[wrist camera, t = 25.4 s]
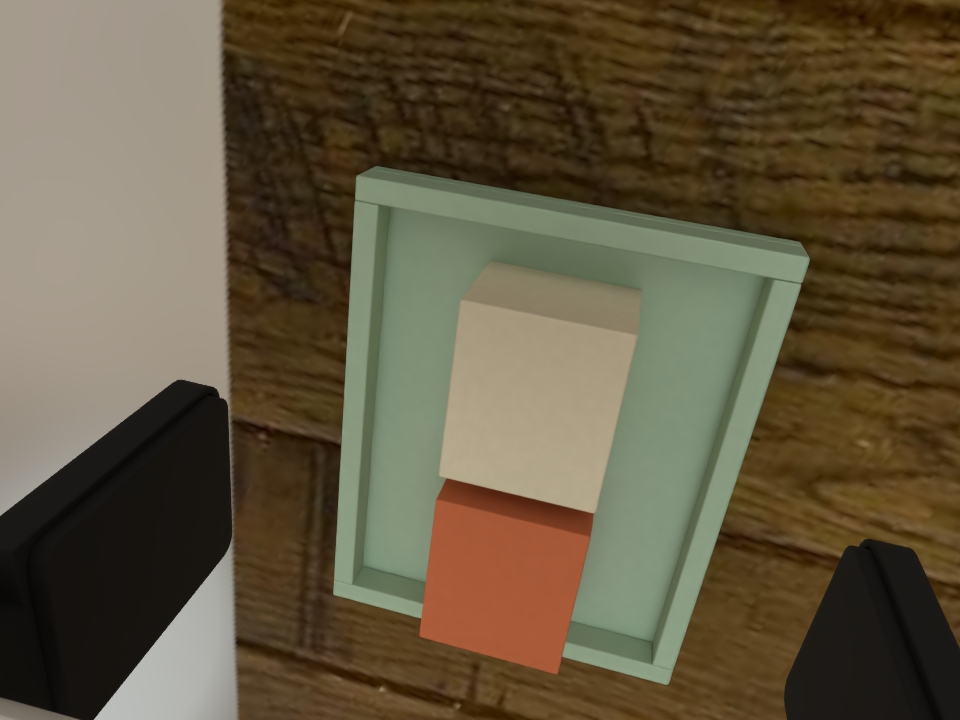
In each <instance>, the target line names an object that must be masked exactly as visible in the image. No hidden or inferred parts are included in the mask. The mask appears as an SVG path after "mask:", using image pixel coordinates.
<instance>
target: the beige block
mask: <svg viewBox="0 0 960 720" xmlns="http://www.w3.org/2000/svg"><path fill="white" fill-rule="evenodd" d="M641 297H642V291H641V290H640V289H635V288H630V287H624V286H619V285H614V284H609V283H604V282H599V281H593V280H588V279H583V278H578V277H573V276H568V275H563V274H557V273H552V272H547V271H542V270H537V269H532V268H527V267H521V266H516V265H511V264H506V263H501V262H496V261H489V263H488V264H487V265H486V267H485V268H484V269H483V271H482V272H481V274H480V275H479V276H478V278H477V279H476V280H475V282H474V283H473V284H472V286H471V287H470V288H469V290H468V291H467V292H466V294H465V295H464V296H463V298H462V299H461V301H460V306H459V314H458V322H457V330H456V338H455V346H454V354H453V362H452V370H451V378H450V386H449V394H448V403H447V411H446V419H445V427H444V435H443V443H442V451H441V459H440V467H439V476H440V477H444V478H448V479H453V480H457V481H461V482H465V483H469V484H473V485H478V486H482V487H486V488H490V489H494V490H498V491H502V492H507V493H511V494H515V495H519V496H523V497H527V498H532V499H536V500H540V501H544V502H548V503H552V504H556V505H561V506H565V507H569V508H573V509H577V510H581V511H586V512H590V513H595V512H596V510H597V506H598V502H599V498H600V493H601V489H602V485H603V481H604V477H605V473H606V469H607V464H608V460H609V456H610V452H611V448H612V444H613V439H614V435H615V431H616V427H617V423H618V419H619V414H620V410H621V406H622V402H623V398H624V394H625V389H626V385H627V381H628V377H629V373H630V369H631V365H632V360H633V356H634V352H635V348H636V344H637V340H638V331H639V320H640V309H641Z"/></svg>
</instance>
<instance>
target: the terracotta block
mask: <svg viewBox="0 0 960 720" xmlns="http://www.w3.org/2000/svg"><path fill="white" fill-rule="evenodd" d="M593 518H594V513H590V512H586V511H581V510H577V509H573V508H569V507H565V506H561V505H556V504H552V503H548V502H544V501H540V500H536V499H532V498H527V497H523V496H519V495H515V494H511V493H507V492H502V491H498V490H494V489H490V488H486V487H482V486H478V485H473V484H469V483H465V482H461V481H457V480H453V479H448V478H446V480H445V482H444V484H443V486H442V488H441V491H440V493H439V495H438V497H437V499H436V504H435V512H434V520H433V528H432V536H431V544H430V552H429V560H428V568H427V576H426V584H425V592H424V601H423V609H422V617H421V625H420V633H419V636H420V637H422V638H426V639H430V640H433V641H437V642H441V643H444V644H448V645H452V646H455V647H459V648H462V649H466V650H470V651H473V652H477V653H481V654H484V655H488V656H492V657H495V658H499V659H503V660H506V661H510V662H513V663H517V664H521V665H524V666H528V667H532V668H535V669H539V670H543V671H546V672H550V673H553V674H558V671H559V667H560V663H561V659H562V655H563V650H564V646H565V642H566V638H567V634H568V630H569V625H570V621H571V617H572V613H573V609H574V605H575V601H576V596H577V592H578V588H579V584H580V580H581V576H582V572H583V567H584V563H585V559H586V555H587V551H588V547H589V542H590V538H591V532H592V525H593Z"/></svg>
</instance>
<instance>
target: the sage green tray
mask: <svg viewBox="0 0 960 720" xmlns="http://www.w3.org/2000/svg"><path fill="white" fill-rule="evenodd" d="M355 199H356V201H355V207H354V226H353V244H352V262H351V281H350V299H349V317H348V336H347V354H346V372H345V391H344V409H343V427H342V446H341V464H340V483H339V501H338V519H337V538H336V556H335V574H334V579H335V580H334V593H333V594H334V595H336V596H340V597H344V598H348V599H351V600H355V601H359V602H362V603H366V604H370V605H373V606H377V607H381V608H384V609H388V610H392V611H396V612H399V613H403V614H407V615H410V616H414V617H418V618H421V617H422V609H423V601H424V592H425V584H426V576H427V568H428V560H429V552H430V544H431V536H432V528H433V520H434V512H435V504H436V499H437V497H438V495H439V493H440V491H441V488H442V486H443V484H444V482H445V480H446V478H444V477H440V476H439V467H440V459H441V451H442V443H443V435H444V427H445V419H446V411H447V403H448V394H449V386H450V378H451V370H452V362H453V354H454V346H455V338H456V330H457V322H458V314H459V306H460V301H461V299H462V298H463V296H464V295H465V294H466V292H467V291H468V290H469V288H470V287H471V286H472V284H473V283H474V282H475V280H476V279H477V278H478V276H479V275H480V274H481V272H482V271H483V269H484V268H485V267H486V265H487V264H488V263H489V261H496V262H501V263H506V264H511V265H516V266H521V267H527V268H532V269H537V270H542V271H547V272H552V273H557V274H563V275H568V276H573V277H578V278H583V279H588V280H593V281H599V282H604V283H609V284H614V285H619V286H624V287H630V288H635V289H640V290H641V291H642V297H641V309H640V320H639V331H638V340H637V344H636V348H635V352H634V356H633V360H632V365H631V369H630V373H629V377H628V381H627V385H626V389H625V394H624V398H623V402H622V406H621V410H620V414H619V419H618V423H617V427H616V431H615V435H614V439H613V444H612V448H611V452H610V456H609V460H608V464H607V469H606V473H605V477H604V481H603V485H602V489H601V493H600V498H599V502H598V506H597V510H596V512H595V513H594V518H593V525H592V532H591V538H590V542H589V547H588V551H587V555H586V559H585V563H584V567H583V572H582V576H581V580H580V584H579V588H578V592H577V596H576V601H575V605H574V609H573V613H572V617H571V621H570V625H569V630H568V634H567V638H566V642H565V646H564V650H563V655H562V657H565V658H569V659H573V660H577V661H580V662H584V663H588V664H591V665H595V666H599V667H602V668H606V669H610V670H613V671H617V672H621V673H625V674H628V675H632V676H636V677H639V678H643V679H647V680H650V681H654V682H658V683H661V684H665V685H668V684H669V681H670V678H671V675H672V672H673V668H674V666H675V663H676V660H677V657H678V654H679V651H680V648H681V645H682V642H683V639H684V636H685V633H686V630H687V627H688V624H689V621H690V618H691V615H692V612H693V609H694V606H695V603H696V600H697V597H698V594H699V591H700V588H701V585H702V582H703V579H704V576H705V573H706V570H707V567H708V564H709V561H710V558H711V555H712V552H713V549H714V546H715V543H716V540H717V537H718V534H719V531H720V528H721V525H722V522H723V519H724V516H725V513H726V510H727V507H728V504H729V501H730V498H731V495H732V492H733V489H734V486H735V483H736V480H737V477H738V474H739V471H740V468H741V465H742V462H743V459H744V456H745V453H746V450H747V447H748V444H749V441H750V438H751V435H752V432H753V429H754V426H755V423H756V420H757V417H758V414H759V411H760V408H761V405H762V402H763V399H764V396H765V393H766V390H767V387H768V384H769V381H770V378H771V375H772V372H773V369H774V366H775V363H776V360H777V357H778V354H779V351H780V348H781V345H782V342H783V339H784V336H785V333H786V330H787V327H788V324H789V321H790V318H791V315H792V312H793V309H794V306H795V303H796V300H797V297H798V294H799V291H800V288H801V284H800V283H802V282H803V279H804V276H805V273H806V270H807V267H808V264H809V261H810V258H809V256H808V254H807V253H806V251H805V250H804V248H803V246H802V244H801V243H800V242H798V241H792V240H787V239H781V238H775V237H770V236H764V235H759V234H753V233H748V232H742V231H736V230H731V229H725V228H720V227H714V226H708V225H703V224H697V223H692V222H686V221H681V220H675V219H669V218H664V217H658V216H653V215H647V214H642V213H636V212H630V211H625V210H619V209H614V208H608V207H602V206H597V205H591V204H586V203H580V202H575V201H569V200H563V199H558V198H552V197H547V196H541V195H536V194H530V193H524V192H519V191H513V190H508V189H502V188H496V187H491V186H485V185H480V184H474V183H469V182H463V181H457V180H452V179H446V178H441V177H435V176H429V175H424V174H418V173H413V172H407V171H402V170H396V169H390V168H385V167H379V166H375V167H373V168H371V169H370V170H368V171H366V172H364V173H362V174H359V175H357V177H356V192H355Z"/></svg>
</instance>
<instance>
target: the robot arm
mask: <svg viewBox="0 0 960 720" xmlns="http://www.w3.org/2000/svg"><path fill="white" fill-rule="evenodd" d="M231 538H232V511H231V481H230V452H229V422H228V405H227V402H226V400H224V399H222V398H220V397H219V393H218V391H217V389H215V388H214V387H211V386H207V385H202V384H198V383H194V382H189V381H185V380H177V381H175V382H173V383H172V384H171V385H169V386H168V387H167V388H165V389H164V390H163V391H162V392H160V393H159V394H158V395H156V396H155V397H154V398H152V399H151V400H150V401H149V402H147V403H146V404H145V405H143V406H142V407H141V408H140V409H138V410H137V411H136V412H134V413H133V414H132V415H130V416H129V417H128V418H126V419H125V420H124V421H123V422H121V423H120V424H119V425H117V426H116V427H115V428H114V429H112V430H111V431H110V432H108V433H107V434H106V435H104V436H103V437H102V438H101V439H99V440H98V441H97V442H95V443H94V444H93V445H92V446H90V447H89V448H88V449H86V450H85V451H84V452H82V453H81V454H80V455H79V456H77V457H76V458H75V459H73V460H72V461H71V462H70V463H68V464H67V465H66V466H64V467H63V468H62V469H60V470H59V471H58V472H57V473H55V474H54V475H53V476H51V477H50V478H49V479H48V480H46V481H45V482H44V483H42V484H41V485H40V486H38V487H37V488H36V489H35V490H33V491H32V492H31V493H29V494H28V495H27V496H25V497H24V498H23V499H22V500H20V501H19V502H18V503H16V504H15V505H14V506H13V507H11V508H10V509H9V510H7V511H6V512H5V513H3V514H2V515H1V516H0V720H94V719H95V717H96V716H97V715H98V714H99V712H100V711H101V710H102V709H103V707H104V706H105V705H106V704H107V702H108V701H109V700H110V699H111V697H112V696H113V695H114V693H115V692H116V691H117V690H118V689H119V687H120V686H121V685H122V684H123V682H124V681H125V680H126V679H127V677H128V676H129V675H130V673H131V672H132V671H133V670H134V668H135V667H136V666H137V665H138V663H139V662H140V661H141V660H142V658H143V657H144V656H145V655H146V653H147V652H148V651H149V650H150V648H151V647H152V646H153V645H154V643H155V642H156V641H157V640H158V638H159V637H160V636H161V635H162V633H163V632H164V631H165V630H166V628H167V627H168V626H169V625H170V623H171V622H172V621H173V620H174V618H175V617H176V616H177V614H178V613H179V612H180V611H181V609H182V608H183V607H184V606H185V604H186V603H187V602H188V601H189V599H190V598H191V597H192V595H193V594H194V593H195V592H196V590H197V589H198V588H199V587H200V585H201V584H202V583H203V582H204V581H205V579H206V578H207V577H208V576H209V574H210V573H211V572H212V571H213V569H214V568H215V567H216V565H217V564H218V563H219V562H220V560H221V559H222V558H223V557H224V555H225V554H226V552H227V550H228V548H229V545H230V542H231ZM784 702H785V710H786V716H787V720H960V648H959V646H958V644H957V642H956V640H955V638H954V635H953V633H952V631H951V629H950V627H949V624H948V622H947V620H946V618H945V616H944V614H943V611H942V609H941V607H940V605H939V603H938V600H937V598H936V596H935V594H934V592H933V589H932V587H931V585H930V583H929V581H928V579H927V576H926V574H925V572H924V570H923V568H922V565H921V563H920V561H919V559H918V557H917V555H916V553H915V552H914V550H912V549H910V548H907V547H903V546H898V545H894V544H890V543H885V542H881V541H877V540H872V539H865V540H864V541H863V542H862V543H861V544H860V546H859V547H856V546H852V545H851V546H848V547H847V548H846V549H845V551H844V553H843V555H842V557H841V559H840V561H839V564H838V566H837V568H836V570H835V573H834V575H833V577H832V579H831V582H830V584H829V586H828V588H827V590H826V593H825V595H824V597H823V599H822V602H821V604H820V606H819V608H818V610H817V613H816V615H815V617H814V619H813V622H812V624H811V626H810V628H809V630H808V633H807V635H806V637H805V639H804V642H803V644H802V646H801V648H800V651H799V653H798V655H797V657H796V659H795V662H794V664H793V666H792V668H791V671H790V673H789V675H788V678H787V681H786V685H785V692H784Z"/></svg>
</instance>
